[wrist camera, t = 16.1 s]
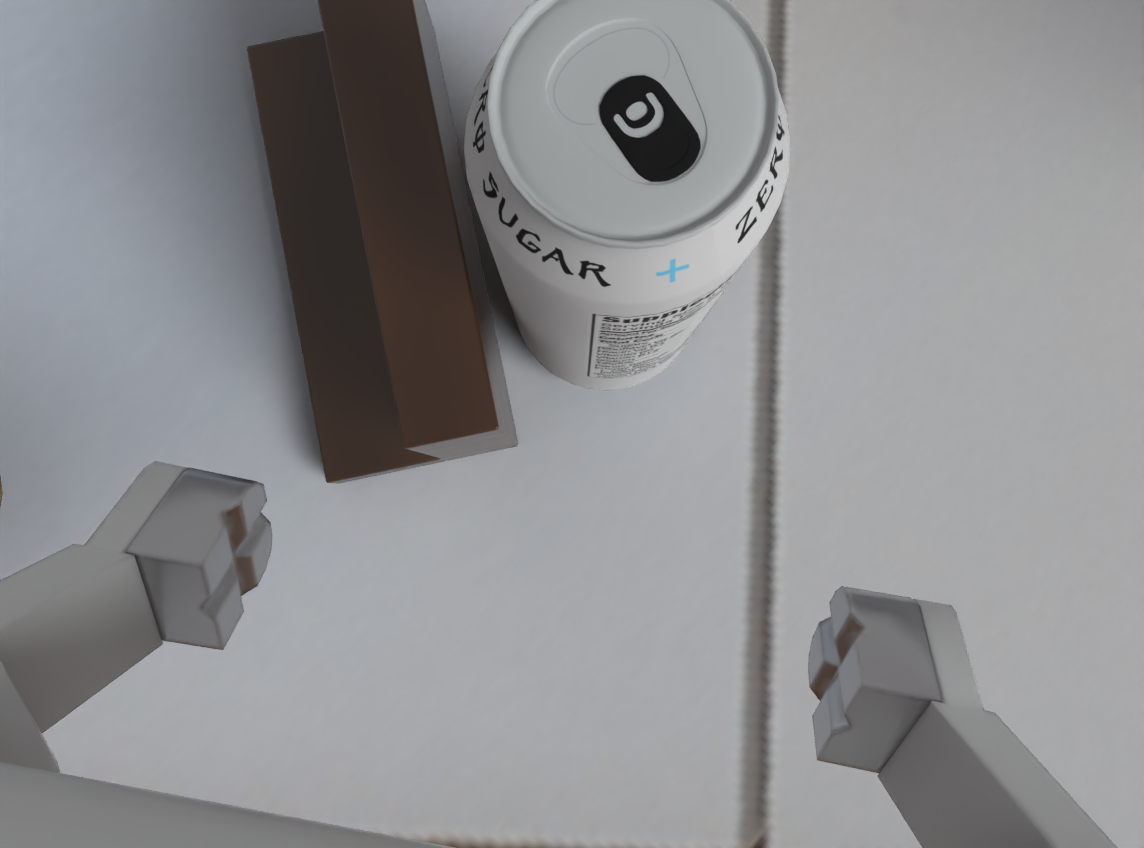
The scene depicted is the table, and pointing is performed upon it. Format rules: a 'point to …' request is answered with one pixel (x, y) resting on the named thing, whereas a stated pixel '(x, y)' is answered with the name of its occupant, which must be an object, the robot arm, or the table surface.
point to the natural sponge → (0, 491)
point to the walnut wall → (380, 242)
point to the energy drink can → (624, 175)
